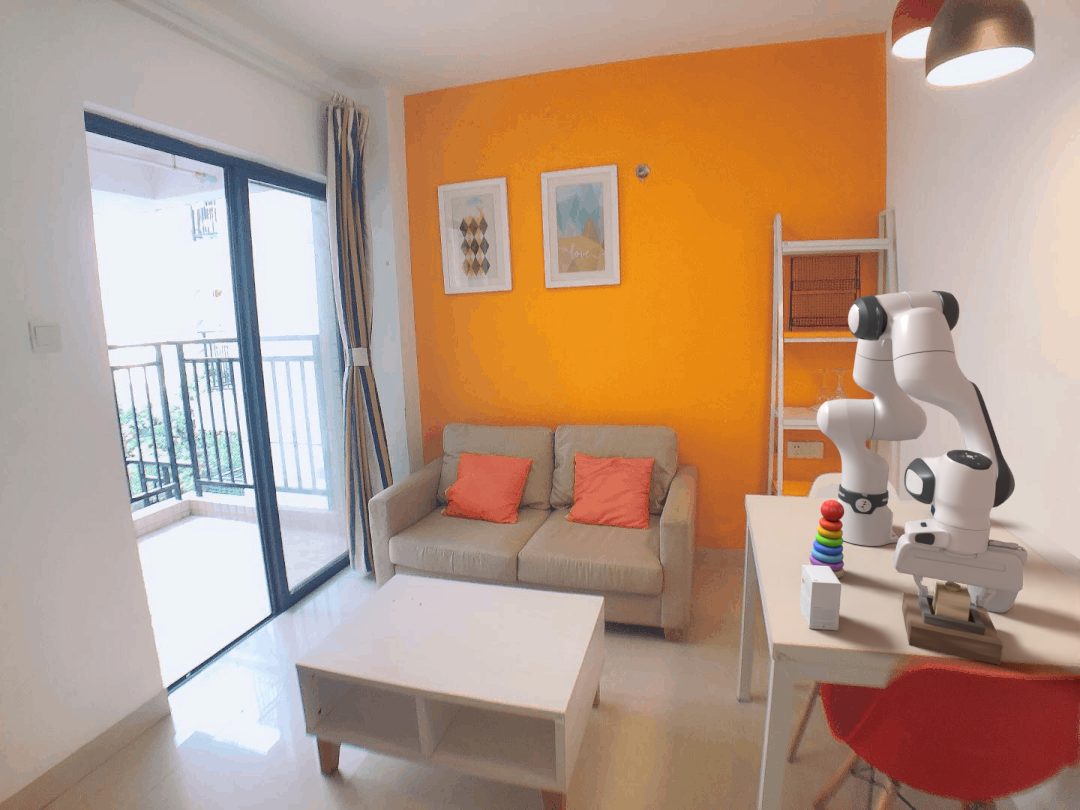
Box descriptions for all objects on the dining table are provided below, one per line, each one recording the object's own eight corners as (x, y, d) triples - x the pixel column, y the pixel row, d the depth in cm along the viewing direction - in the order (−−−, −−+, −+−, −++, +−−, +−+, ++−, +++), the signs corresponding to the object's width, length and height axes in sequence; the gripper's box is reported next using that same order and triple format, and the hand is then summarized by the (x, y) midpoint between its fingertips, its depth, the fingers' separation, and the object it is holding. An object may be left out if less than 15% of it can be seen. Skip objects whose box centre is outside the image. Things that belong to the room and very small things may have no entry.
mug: (1013, 601, 122) (1020, 559, 120) (1018, 621, 115) (1025, 576, 113) (942, 585, 129) (947, 545, 127) (942, 603, 122) (948, 561, 120)
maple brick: (932, 607, 114) (935, 576, 112) (962, 613, 111) (966, 581, 110) (935, 619, 109) (939, 588, 108) (967, 626, 107) (971, 593, 106)
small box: (838, 631, 113) (842, 584, 111) (808, 629, 114) (812, 582, 112) (826, 610, 121) (830, 565, 119) (798, 608, 122) (801, 563, 120)
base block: (901, 608, 120) (904, 585, 119) (982, 625, 114) (986, 600, 113) (909, 644, 108) (911, 619, 107) (1000, 665, 102) (1004, 638, 101)
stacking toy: (809, 577, 134) (814, 504, 131) (806, 562, 142) (811, 493, 138) (846, 582, 132) (852, 507, 128) (840, 567, 139) (846, 496, 136)
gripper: (1024, 538, 105) (1014, 605, 108) (896, 520, 114) (889, 582, 117) (1034, 552, 99) (1023, 622, 102) (899, 532, 109) (892, 596, 112)
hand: (951, 600), depth 110 cm, fingers open, 8 cm apart
